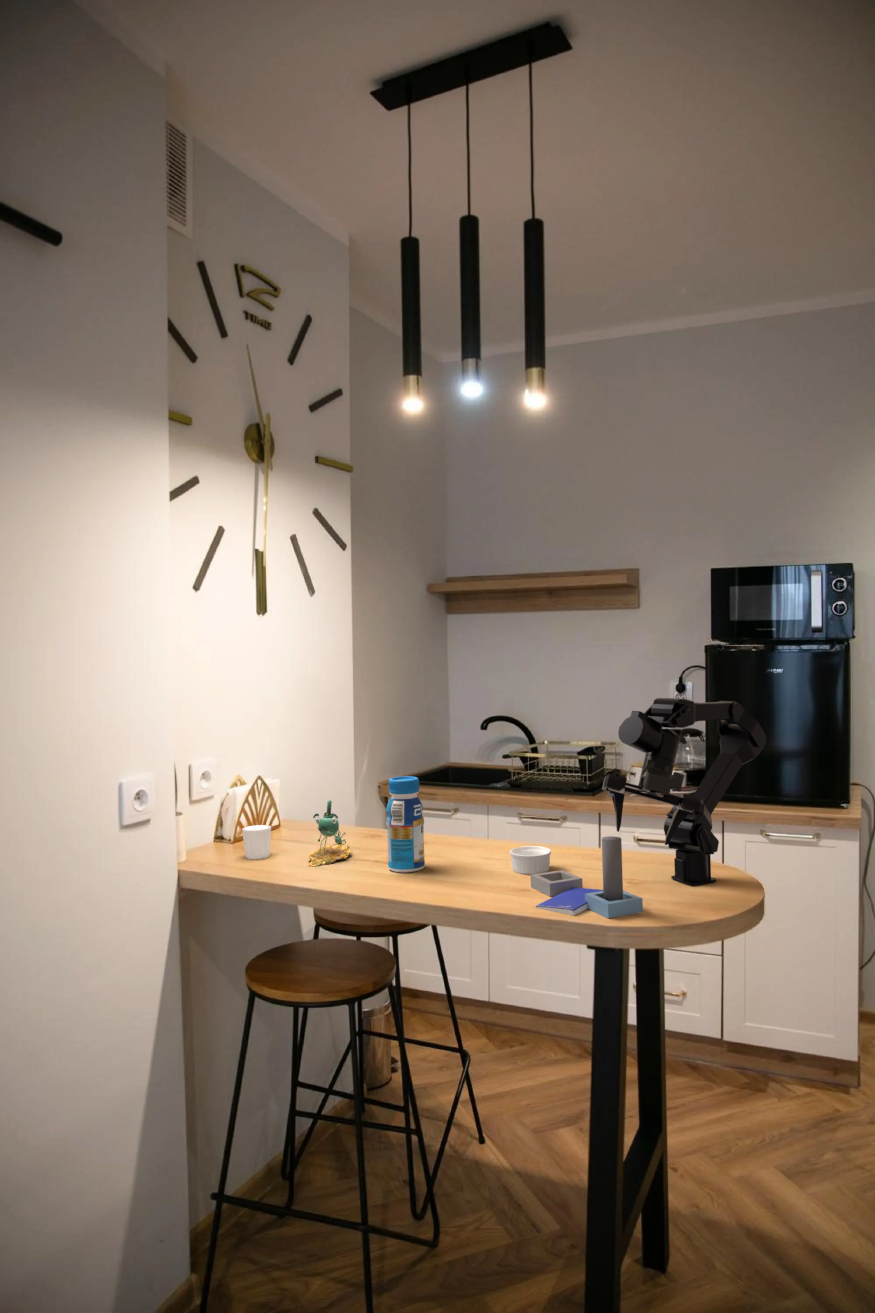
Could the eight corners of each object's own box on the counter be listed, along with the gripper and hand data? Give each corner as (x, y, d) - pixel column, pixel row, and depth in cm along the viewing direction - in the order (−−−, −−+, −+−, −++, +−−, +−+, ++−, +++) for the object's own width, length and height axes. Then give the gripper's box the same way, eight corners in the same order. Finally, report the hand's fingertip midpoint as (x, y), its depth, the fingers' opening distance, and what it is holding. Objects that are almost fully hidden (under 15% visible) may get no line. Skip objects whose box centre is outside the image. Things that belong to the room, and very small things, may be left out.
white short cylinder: (266, 860, 203) (265, 830, 203) (238, 860, 204) (237, 830, 204) (276, 853, 210) (275, 824, 210) (249, 853, 211) (248, 824, 211)
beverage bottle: (381, 867, 193) (378, 778, 193) (415, 861, 197) (412, 774, 197) (397, 875, 186) (394, 782, 186) (432, 869, 190) (429, 778, 189)
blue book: (572, 908, 155) (607, 889, 164) (535, 904, 160) (570, 886, 169) (573, 917, 155) (608, 898, 164) (536, 913, 160) (571, 894, 169)
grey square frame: (562, 882, 176) (562, 870, 176) (582, 891, 170) (582, 878, 170) (531, 887, 173) (530, 875, 173) (550, 896, 167) (549, 883, 167)
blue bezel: (618, 901, 162) (618, 888, 162) (642, 912, 155) (642, 898, 155) (585, 907, 159) (584, 894, 159) (608, 918, 152) (608, 904, 152)
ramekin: (549, 876, 182) (549, 855, 182) (507, 875, 183) (507, 855, 183) (553, 865, 190) (552, 846, 190) (512, 865, 192) (512, 845, 192)
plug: (607, 906, 160) (605, 835, 159) (626, 908, 158) (624, 837, 158) (601, 911, 157) (598, 839, 156) (619, 913, 155) (617, 841, 155)
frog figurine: (369, 850, 210) (364, 791, 208) (329, 877, 194) (324, 813, 192) (335, 847, 214) (330, 789, 212) (294, 873, 198) (288, 811, 196)
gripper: (615, 740, 163) (596, 821, 159) (716, 766, 159) (698, 850, 156) (611, 749, 173) (592, 825, 170) (705, 774, 170) (688, 852, 167)
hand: (641, 838), depth 165 cm, fingers open, 9 cm apart
